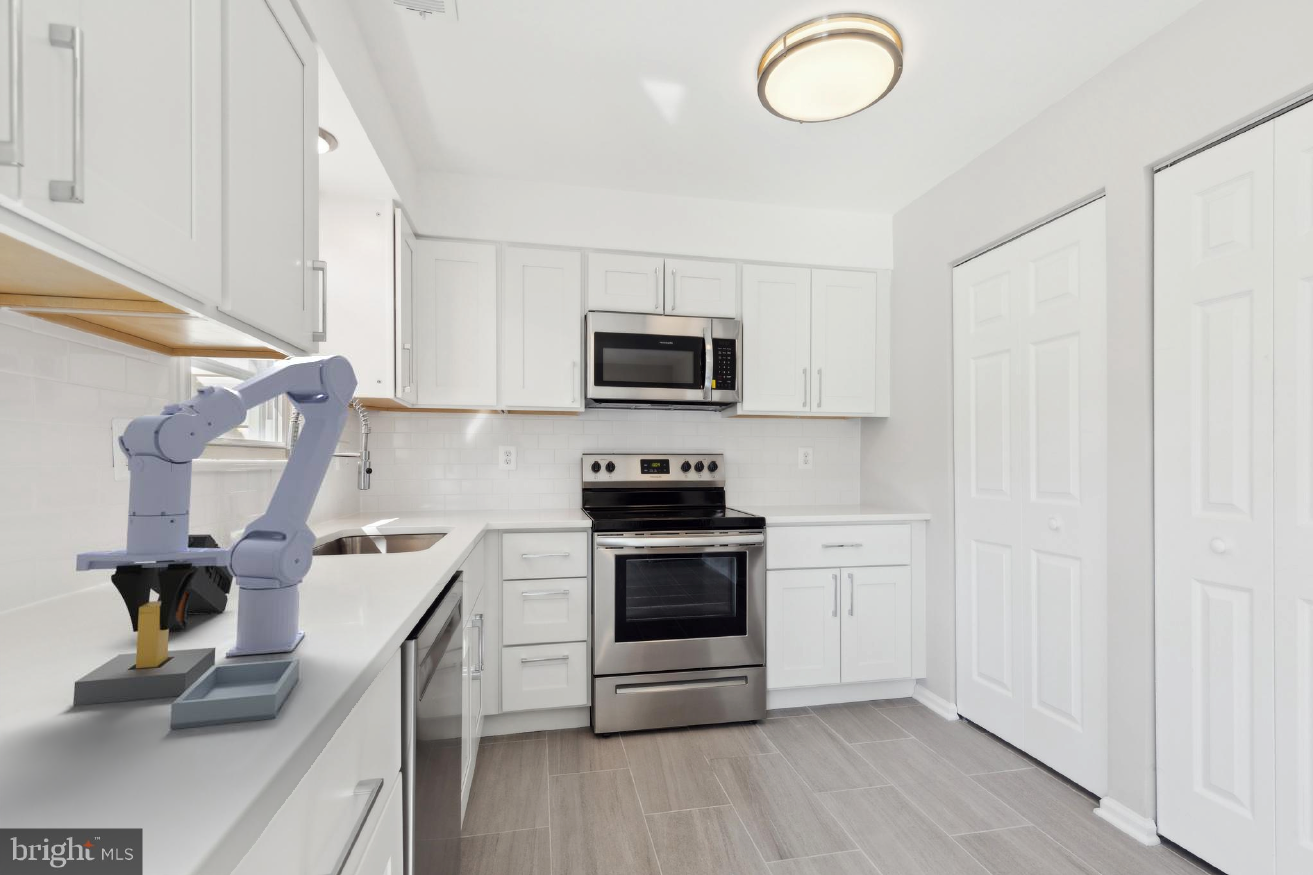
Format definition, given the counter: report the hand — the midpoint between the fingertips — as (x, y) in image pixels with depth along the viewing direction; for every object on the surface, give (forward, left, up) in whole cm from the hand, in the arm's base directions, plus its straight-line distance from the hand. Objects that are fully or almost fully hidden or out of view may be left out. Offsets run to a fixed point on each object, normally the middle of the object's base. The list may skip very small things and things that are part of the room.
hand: (153, 628), depth 73 cm
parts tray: (+9, +11, -6) cm, 16 cm away
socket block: (0, 0, -6) cm, 7 cm away
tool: (-33, -6, -7) cm, 34 cm away
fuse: (0, 0, -4) cm, 4 cm away
